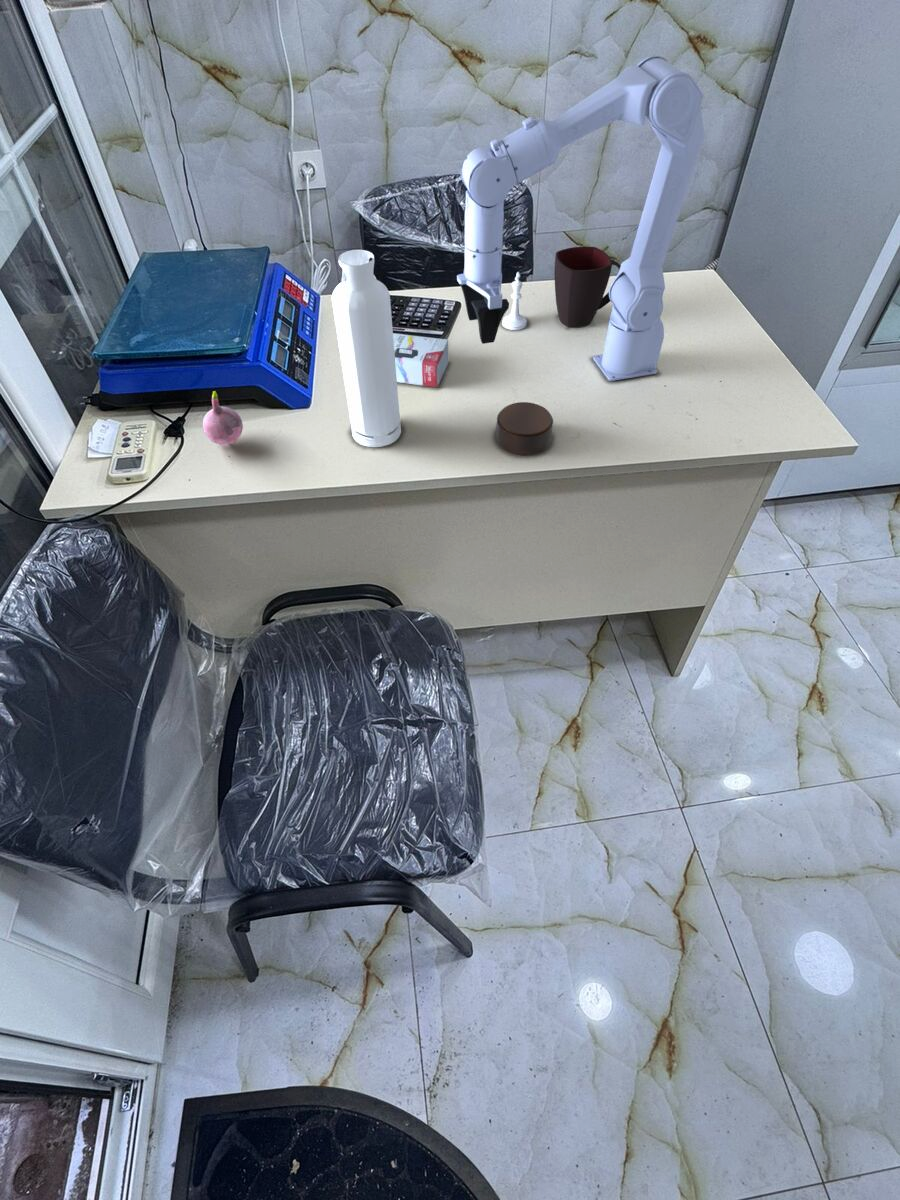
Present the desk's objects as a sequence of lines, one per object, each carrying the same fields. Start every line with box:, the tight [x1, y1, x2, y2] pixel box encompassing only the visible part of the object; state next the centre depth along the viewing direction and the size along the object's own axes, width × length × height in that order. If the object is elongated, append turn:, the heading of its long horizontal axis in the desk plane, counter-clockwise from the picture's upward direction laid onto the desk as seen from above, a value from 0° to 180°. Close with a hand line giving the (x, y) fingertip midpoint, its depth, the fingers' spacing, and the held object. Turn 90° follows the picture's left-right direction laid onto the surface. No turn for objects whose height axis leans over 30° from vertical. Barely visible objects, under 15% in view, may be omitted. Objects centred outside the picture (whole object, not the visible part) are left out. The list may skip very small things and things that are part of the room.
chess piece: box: [501, 271, 528, 331], centre depth 124 cm, size 5×5×10 cm
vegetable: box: [202, 390, 244, 446], centre depth 101 cm, size 6×6×10 cm
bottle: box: [331, 249, 402, 448], centre depth 96 cm, size 8×8×28 cm
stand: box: [495, 401, 554, 456], centre depth 104 cm, size 9×9×4 cm
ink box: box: [393, 332, 449, 388], centre depth 116 cm, size 9×5×12 cm
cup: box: [554, 246, 621, 329], centre depth 124 cm, size 10×14×12 cm
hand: (481, 330), depth 108 cm, fingers open, 7 cm apart
